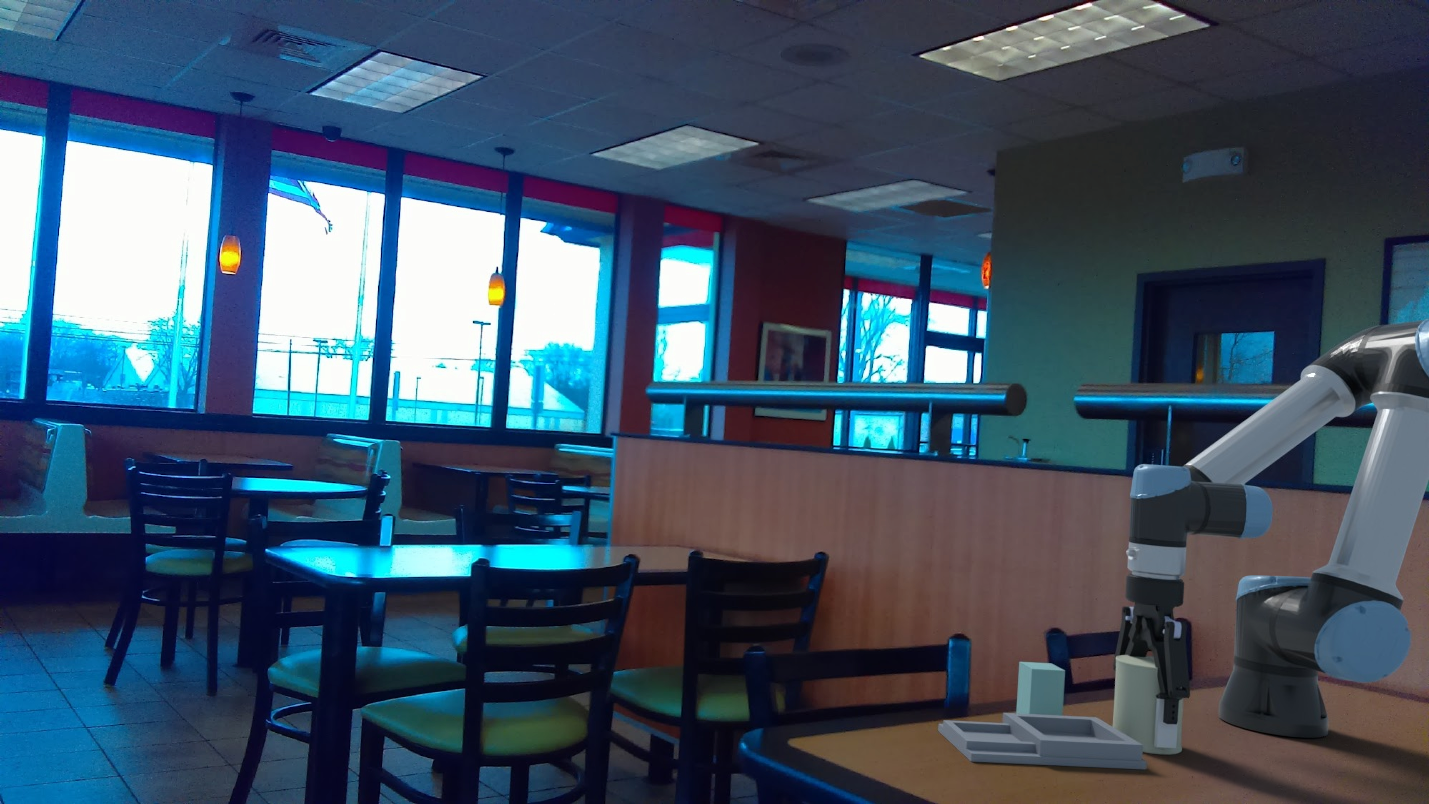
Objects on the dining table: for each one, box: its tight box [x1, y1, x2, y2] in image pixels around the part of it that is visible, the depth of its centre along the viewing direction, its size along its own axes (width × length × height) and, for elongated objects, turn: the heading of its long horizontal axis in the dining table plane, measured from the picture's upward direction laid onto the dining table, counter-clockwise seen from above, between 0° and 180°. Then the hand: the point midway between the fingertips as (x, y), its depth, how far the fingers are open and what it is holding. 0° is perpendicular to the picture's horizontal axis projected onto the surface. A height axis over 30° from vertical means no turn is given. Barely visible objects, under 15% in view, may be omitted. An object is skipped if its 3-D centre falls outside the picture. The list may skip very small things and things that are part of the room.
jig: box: [937, 712, 1148, 770], centre depth 144 cm, size 23×14×3 cm, turn 95°
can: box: [1112, 655, 1184, 756], centre depth 151 cm, size 9×9×12 cm
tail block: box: [1015, 661, 1066, 716], centre depth 161 cm, size 5×5×8 cm
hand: (1146, 736), depth 150 cm, fingers open, 10 cm apart
